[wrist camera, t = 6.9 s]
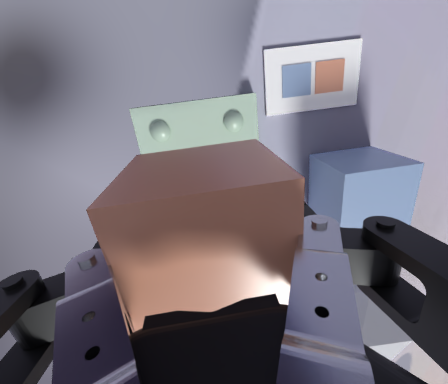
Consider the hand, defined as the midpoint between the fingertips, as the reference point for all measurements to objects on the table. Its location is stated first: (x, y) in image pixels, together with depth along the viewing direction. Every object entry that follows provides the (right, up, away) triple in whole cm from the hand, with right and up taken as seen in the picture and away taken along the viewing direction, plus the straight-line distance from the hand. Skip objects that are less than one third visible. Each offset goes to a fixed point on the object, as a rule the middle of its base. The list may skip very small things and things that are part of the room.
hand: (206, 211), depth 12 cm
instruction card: (+8, +10, +8) cm, 16 cm away
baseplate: (-1, +4, +10) cm, 10 cm away
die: (+15, -11, +18) cm, 26 cm away
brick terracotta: (0, +1, +1) cm, 1 cm away
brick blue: (+12, +2, +12) cm, 17 cm away
